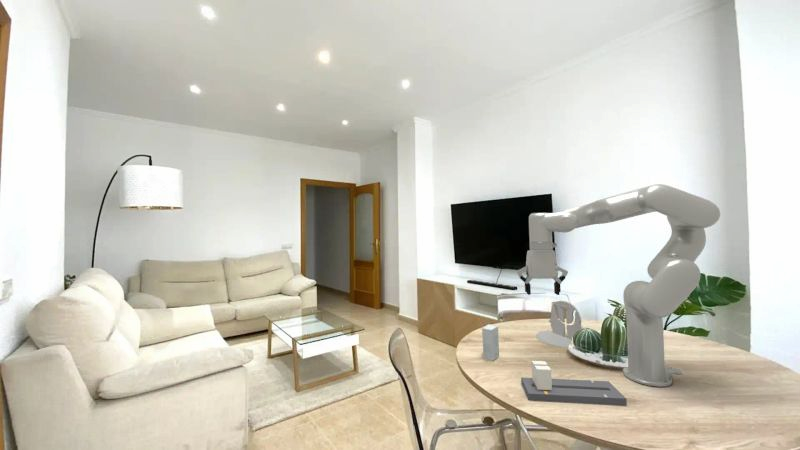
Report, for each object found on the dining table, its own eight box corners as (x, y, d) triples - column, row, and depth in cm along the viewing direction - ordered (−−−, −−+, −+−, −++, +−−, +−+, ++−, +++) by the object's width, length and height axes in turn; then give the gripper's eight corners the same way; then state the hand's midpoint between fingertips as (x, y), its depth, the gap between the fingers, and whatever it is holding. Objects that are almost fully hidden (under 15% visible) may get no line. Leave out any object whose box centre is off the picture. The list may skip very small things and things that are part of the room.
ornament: (588, 347, 130) (587, 306, 130) (564, 352, 125) (562, 310, 126) (547, 331, 150) (546, 296, 151) (525, 335, 146) (524, 299, 146)
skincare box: (489, 353, 126) (488, 323, 126) (499, 356, 123) (498, 325, 123) (482, 358, 121) (481, 327, 121) (493, 361, 118) (492, 329, 118)
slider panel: (608, 387, 97) (608, 380, 97) (626, 405, 87) (626, 398, 87) (521, 383, 101) (521, 376, 101) (528, 400, 91) (528, 393, 91)
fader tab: (546, 380, 98) (545, 360, 98) (552, 390, 92) (551, 369, 92) (532, 379, 99) (531, 360, 99) (537, 389, 93) (536, 368, 93)
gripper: (562, 245, 115) (564, 292, 115) (513, 246, 118) (515, 292, 118) (570, 247, 108) (572, 296, 107) (518, 248, 110) (519, 296, 110)
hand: (542, 294), depth 112 cm, fingers open, 9 cm apart
